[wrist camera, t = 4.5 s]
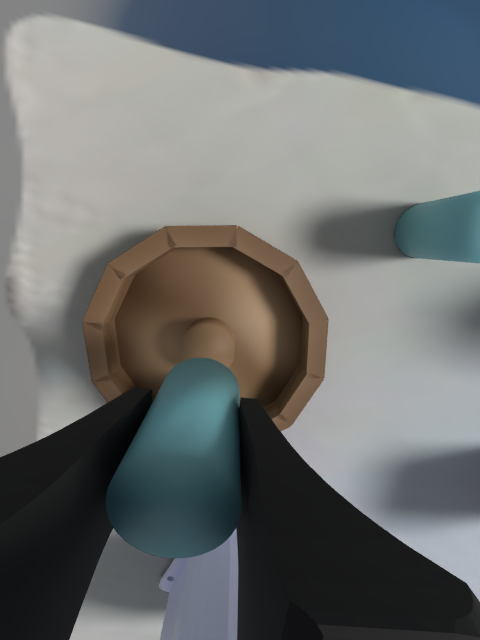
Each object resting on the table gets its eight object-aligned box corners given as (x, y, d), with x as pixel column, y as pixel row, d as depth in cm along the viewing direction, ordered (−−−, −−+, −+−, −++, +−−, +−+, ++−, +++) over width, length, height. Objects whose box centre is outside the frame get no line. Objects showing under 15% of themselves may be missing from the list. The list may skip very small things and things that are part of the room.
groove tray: (249, 456, 20) (251, 484, 18) (74, 374, 18) (50, 394, 16) (356, 298, 17) (375, 306, 15) (161, 182, 15) (146, 171, 13)
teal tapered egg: (234, 430, 12) (232, 563, 7) (160, 422, 11) (104, 552, 7) (244, 362, 11) (249, 458, 6) (165, 352, 11) (105, 443, 6)
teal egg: (425, 267, 17) (500, 277, 12) (384, 241, 16) (445, 240, 12) (458, 220, 16) (552, 211, 11) (416, 192, 16) (496, 170, 11)
